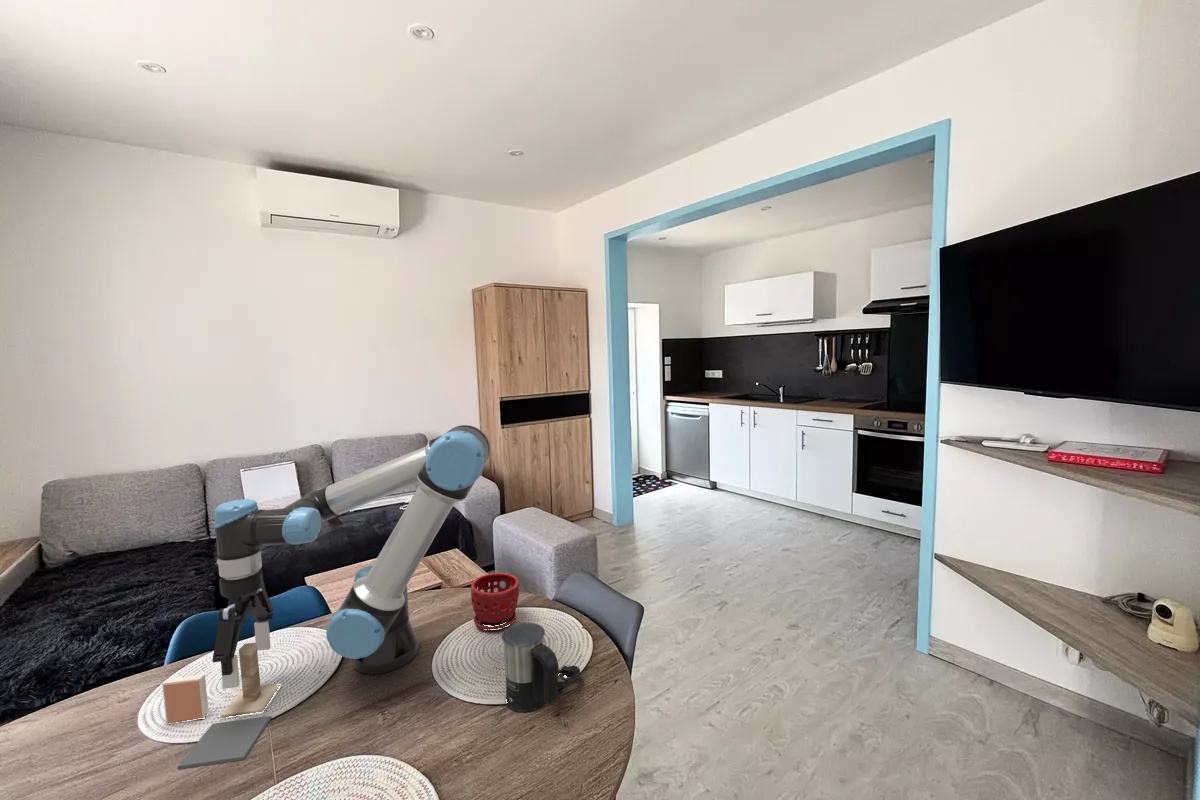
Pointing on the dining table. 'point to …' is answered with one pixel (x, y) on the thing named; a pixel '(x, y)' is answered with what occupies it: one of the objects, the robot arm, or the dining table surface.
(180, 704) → the tile
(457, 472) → the robot arm
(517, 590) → the plant pot
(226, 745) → the rest mat
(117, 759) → the dining table surface
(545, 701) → the milk frother
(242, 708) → the block tower on stand
